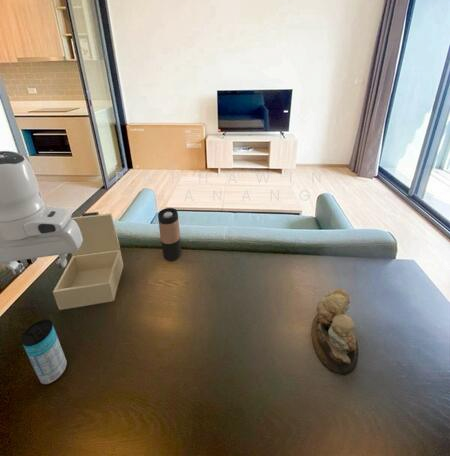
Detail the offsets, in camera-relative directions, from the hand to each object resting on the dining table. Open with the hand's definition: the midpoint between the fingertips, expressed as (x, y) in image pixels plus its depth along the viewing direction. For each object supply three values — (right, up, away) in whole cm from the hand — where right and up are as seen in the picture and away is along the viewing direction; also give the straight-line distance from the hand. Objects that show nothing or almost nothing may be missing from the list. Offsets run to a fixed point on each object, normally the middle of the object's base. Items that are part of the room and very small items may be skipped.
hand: (41, 269), depth 60 cm
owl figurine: (+75, -24, +8) cm, 80 cm away
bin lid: (-3, -1, +27) cm, 27 cm away
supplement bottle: (+1, -28, +3) cm, 28 cm away
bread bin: (-2, -18, +27) cm, 33 cm away
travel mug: (+23, -13, +41) cm, 49 cm away
